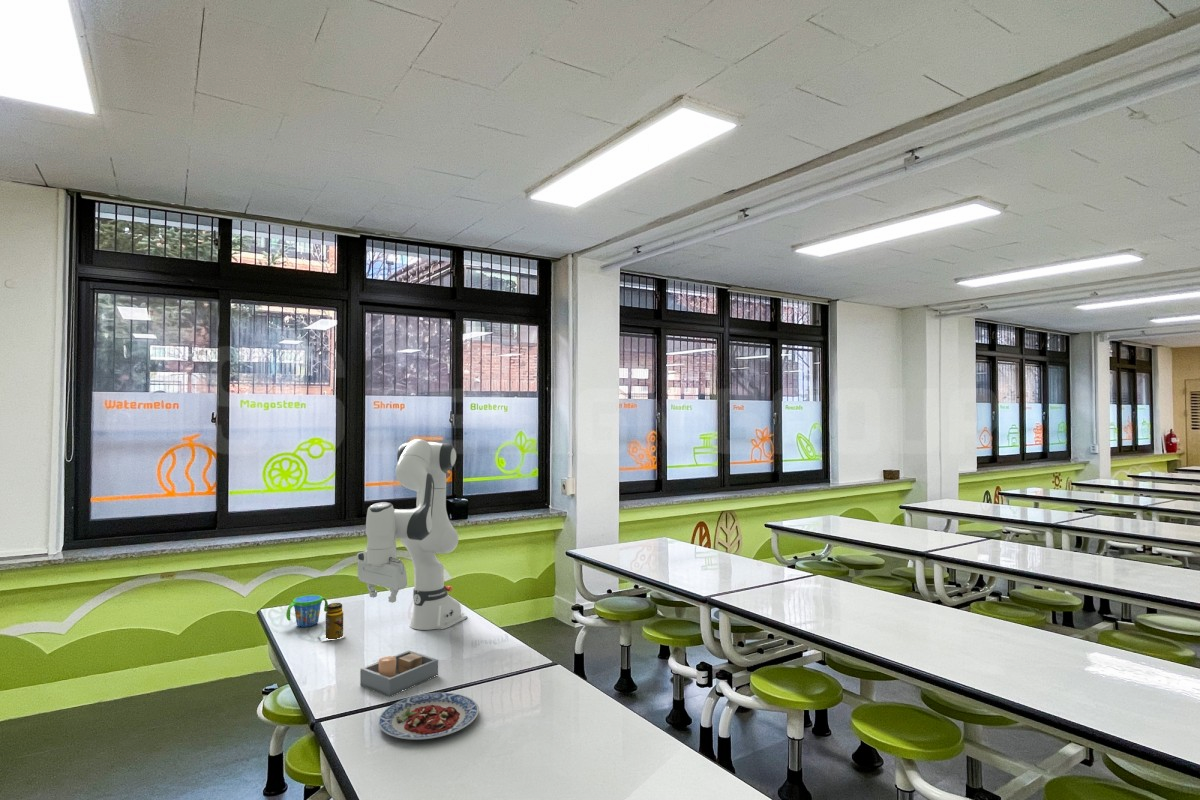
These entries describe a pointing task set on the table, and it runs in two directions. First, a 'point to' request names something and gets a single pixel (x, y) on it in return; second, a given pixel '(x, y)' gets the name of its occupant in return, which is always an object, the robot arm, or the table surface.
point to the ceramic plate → (428, 716)
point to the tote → (398, 675)
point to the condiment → (334, 621)
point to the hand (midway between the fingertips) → (382, 599)
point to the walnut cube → (409, 662)
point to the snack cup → (307, 609)
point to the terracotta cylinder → (387, 666)
